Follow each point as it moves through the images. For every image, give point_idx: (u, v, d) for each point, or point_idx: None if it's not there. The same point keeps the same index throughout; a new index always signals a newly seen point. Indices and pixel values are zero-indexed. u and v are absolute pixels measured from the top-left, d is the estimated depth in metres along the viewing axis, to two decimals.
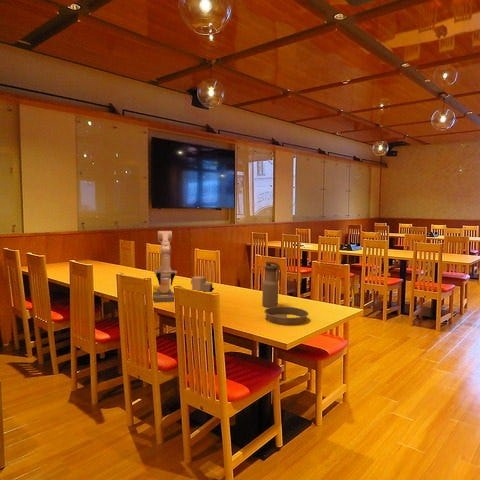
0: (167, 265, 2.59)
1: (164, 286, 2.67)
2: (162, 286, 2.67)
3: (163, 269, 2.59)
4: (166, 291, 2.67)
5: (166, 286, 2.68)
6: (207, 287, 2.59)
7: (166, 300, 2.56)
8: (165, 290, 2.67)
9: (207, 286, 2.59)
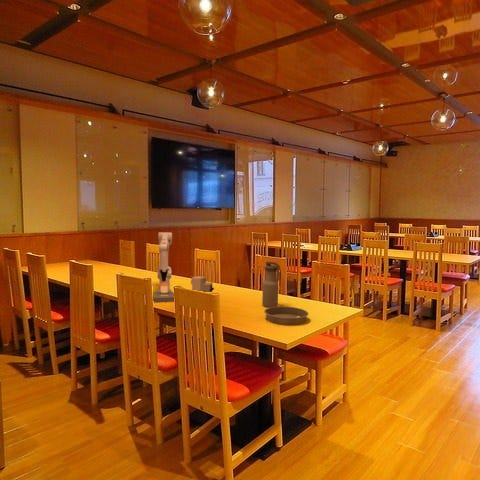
0: (160, 262, 2.70)
1: (164, 286, 2.68)
2: (162, 286, 2.67)
3: None
4: (166, 291, 2.67)
5: (166, 286, 2.68)
6: (207, 287, 2.59)
7: (166, 300, 2.56)
8: (165, 290, 2.67)
9: (207, 286, 2.59)
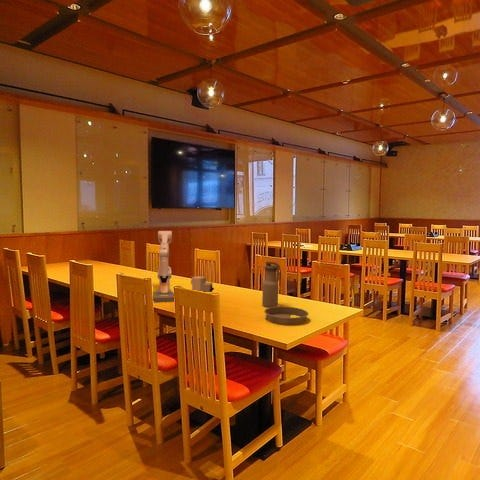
0: (160, 268, 2.68)
1: (164, 286, 2.68)
2: (162, 286, 2.67)
3: None
4: (166, 291, 2.67)
5: (166, 286, 2.68)
6: (207, 287, 2.59)
7: (166, 300, 2.56)
8: (165, 290, 2.67)
9: (207, 286, 2.59)
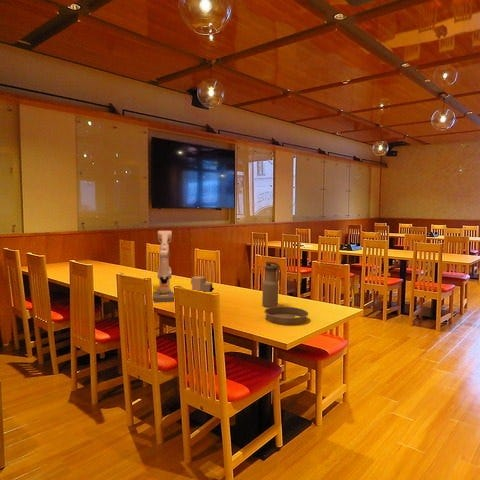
0: (160, 268, 2.64)
1: (164, 287, 2.64)
2: (162, 287, 2.64)
3: None
4: (166, 292, 2.66)
5: (166, 287, 2.65)
6: (207, 287, 2.59)
7: (166, 300, 2.56)
8: (165, 291, 2.66)
9: (207, 286, 2.59)
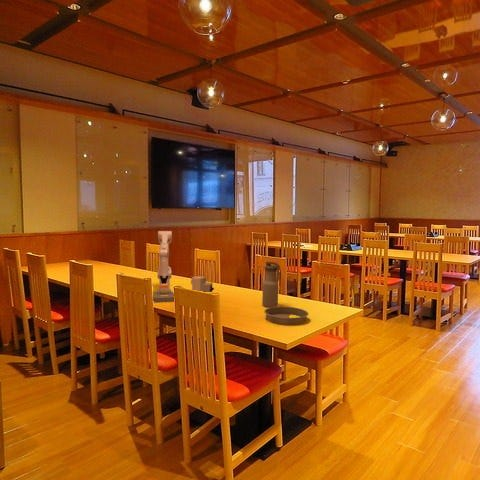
0: (160, 268, 2.68)
1: (164, 288, 2.64)
2: (162, 288, 2.64)
3: None
4: (166, 292, 2.66)
5: (166, 288, 2.65)
6: (207, 287, 2.59)
7: (166, 300, 2.56)
8: (165, 291, 2.66)
9: (207, 286, 2.59)
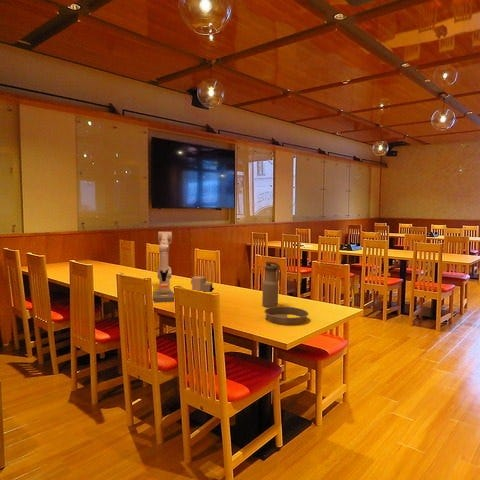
0: (160, 262, 2.69)
1: (164, 288, 2.64)
2: (162, 288, 2.64)
3: None
4: (166, 292, 2.66)
5: (166, 288, 2.65)
6: (207, 287, 2.59)
7: (166, 300, 2.56)
8: (165, 291, 2.66)
9: (207, 286, 2.59)
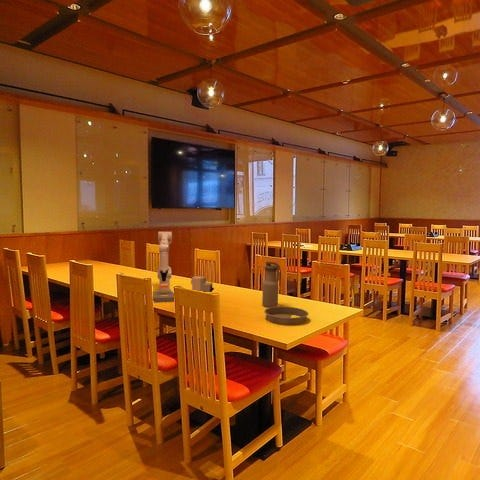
0: (160, 262, 2.69)
1: (164, 288, 2.64)
2: (162, 288, 2.64)
3: None
4: (166, 292, 2.66)
5: (166, 288, 2.65)
6: (207, 287, 2.59)
7: (166, 300, 2.56)
8: (165, 291, 2.66)
9: (207, 286, 2.59)
